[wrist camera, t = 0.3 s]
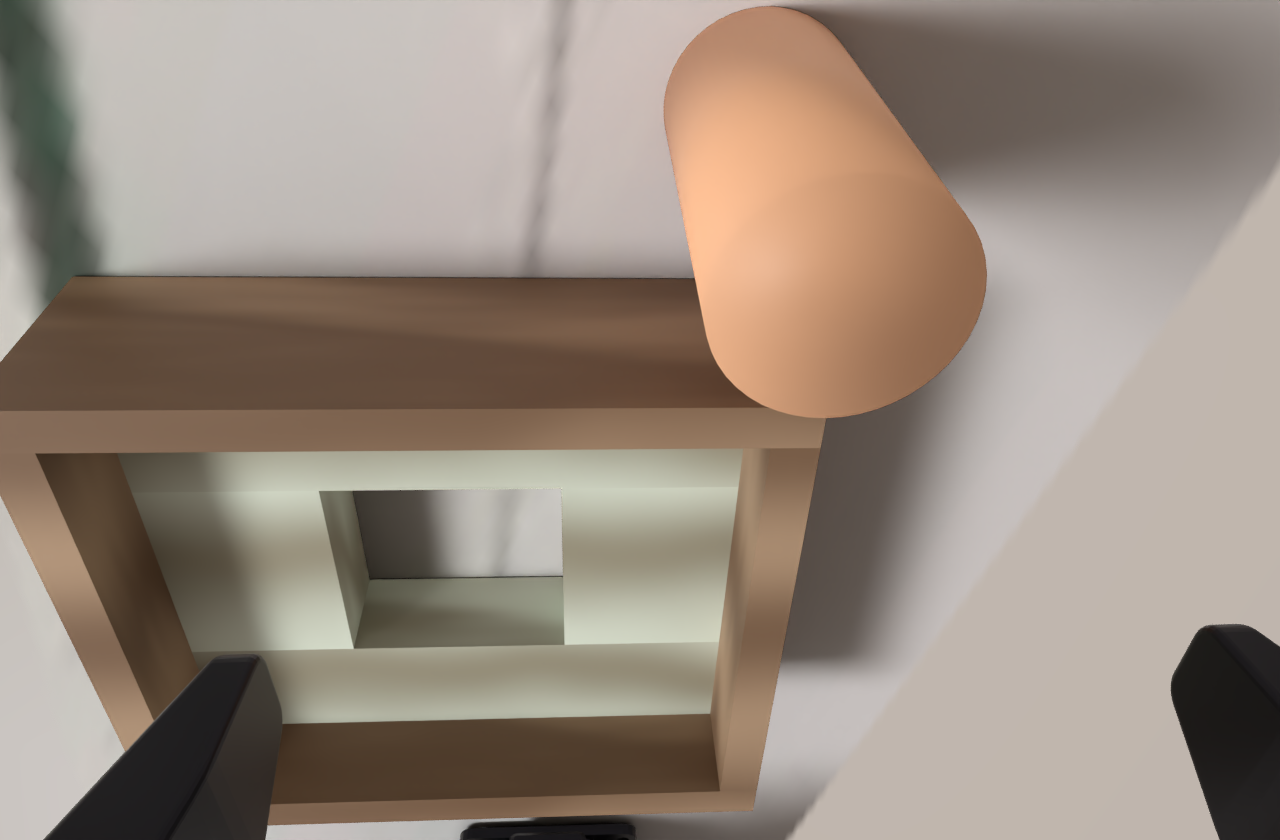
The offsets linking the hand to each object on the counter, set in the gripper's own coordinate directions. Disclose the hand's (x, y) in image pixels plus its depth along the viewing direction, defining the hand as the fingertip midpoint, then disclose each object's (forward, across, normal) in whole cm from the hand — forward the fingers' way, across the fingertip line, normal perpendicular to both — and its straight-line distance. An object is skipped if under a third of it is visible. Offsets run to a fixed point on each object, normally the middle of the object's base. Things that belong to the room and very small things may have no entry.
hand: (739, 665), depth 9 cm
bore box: (+14, +5, +10) cm, 18 cm away
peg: (+14, -2, 0) cm, 14 cm away
